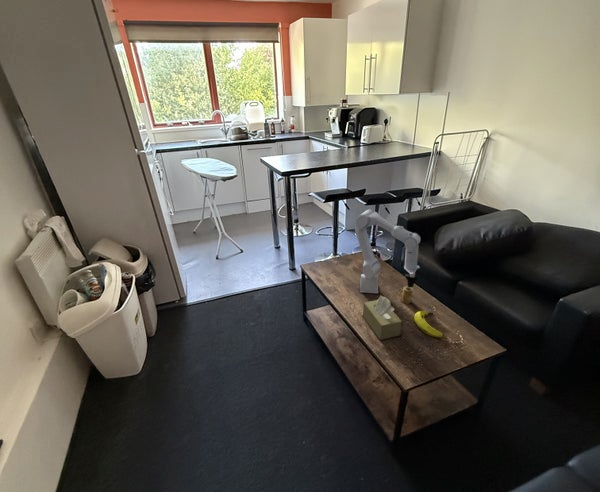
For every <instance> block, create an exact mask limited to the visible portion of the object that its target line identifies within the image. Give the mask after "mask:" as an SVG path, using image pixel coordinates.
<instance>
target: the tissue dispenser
mask: <svg viewBox="0 0 600 492" xmlns="http://www.w3.org/2000/svg"><path fill="white" fill-rule="evenodd" d="M394 311H395V308H394V307H393V306H392V305H391V301H390V300H389V299H388V298H387V297H386V296H383V295H379V297H378V299H375V300H370V301H366V302H363V309H362V317H363V318H364V319H365V321H366V322H367V324H368V325H369V327H370V329H372V330H373V332H374V333H375V335H376V336H377V337H378V339H379V340H385V339H390V338H396V337H399V336H401V330H402V325H403V321H402V319H401V318H400V317H399V316H398V315H397V314H396V313H395V312H394Z"/></svg>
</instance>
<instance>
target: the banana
mask: <svg viewBox="0 0 600 492" xmlns="http://www.w3.org/2000/svg"><path fill="white" fill-rule="evenodd" d="M433 315H434V312H427V311H426V310H419V311H417V312H416V313H415V314H414V316H413V319H414V322H415V324H416V325H417V327H418V328H419V330H420V331H421V332H422V333H424V334H425V335H428V336H430V337H432V338H438V339H439V338H443V337H445V334H444V333H442V332H440V331H439V330H437V329H435V328H434V327H432V325H430V324H429V323H428V322H427V320H426V319H425V316H433Z"/></svg>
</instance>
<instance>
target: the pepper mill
mask: <svg viewBox="0 0 600 492" xmlns="http://www.w3.org/2000/svg"><path fill="white" fill-rule="evenodd" d="M413 292H414V288H413V287H408V285H406V286H403V288H402V294H401V302H402V304H411V302H412V297H413Z"/></svg>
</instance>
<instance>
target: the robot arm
mask: <svg viewBox="0 0 600 492" xmlns="http://www.w3.org/2000/svg"><path fill="white" fill-rule="evenodd" d="M354 221H355V226H354V232H355V235H356V238H357V241H358V244H359V245H358V246H359V248H360V251H361V255H362V259H363V264H362V268H363V272H362V274H360V283H359V287H360V288H359V289H360V291H359V292H360V293H365V294H366V293H367V294H379V276H380V274H379V272H380V271H381V269H382V265H381V263H380V262H379V260H378V258H377V257H375V255H374V252H373V251H374V250H373V248H372V246H371V245H372V244H371V241H370V238H369V234H368V232H367V229H368V227H373V226H378V227H380V228H382V229H384V230H385V231H388V232H389V233H390V234H391V236H392V237H393V238H394V239H396V240H398V241H400V243H403V244H404V247H405V254H404V255H405V257H404V265H403V269H404V272H405V274H404V275H405V279H406V281H407V286H408V287H411V288H413V287H414V285H415V282H416V280H417V279H418V278H419V275H418V274H416V272H417V270H420V265H418V259H419V247H420V246H419V244H420V243H421V240H422V239H421V235H419V234H418V233H417V232H412V231H409V230H407V229H406V228H404V226H403V225H394V224H393V223H391V222H390V221H389V220H387V219H385V218H384V217H382V216H381V215H380V214H379V213H378V212H377V211H375V210H373V209H372V208H371V209H370V208H369V209H366V210H365V211H364V212H362V213H361V214H359V215H358V216H357V217H356V218H355V220H354Z"/></svg>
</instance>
